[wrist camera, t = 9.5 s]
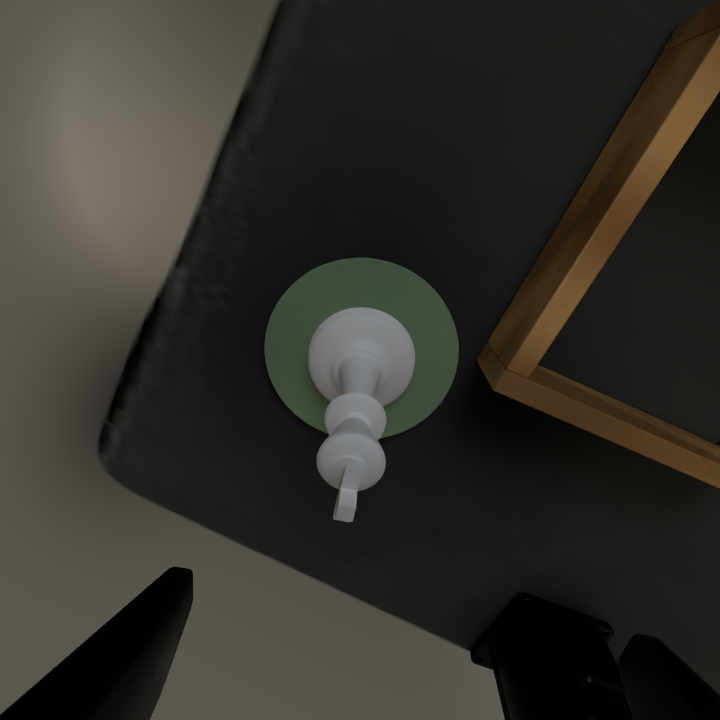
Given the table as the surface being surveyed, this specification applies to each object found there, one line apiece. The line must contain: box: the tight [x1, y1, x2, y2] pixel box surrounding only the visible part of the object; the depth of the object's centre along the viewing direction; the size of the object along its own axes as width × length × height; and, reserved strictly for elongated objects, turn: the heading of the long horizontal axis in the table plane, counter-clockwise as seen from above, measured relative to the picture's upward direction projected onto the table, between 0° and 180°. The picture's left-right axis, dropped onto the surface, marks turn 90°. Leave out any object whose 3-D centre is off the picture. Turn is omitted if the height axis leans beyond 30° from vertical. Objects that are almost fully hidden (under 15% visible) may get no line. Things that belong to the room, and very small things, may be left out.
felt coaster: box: [264, 258, 459, 438], centre depth 20 cm, size 9×9×1 cm
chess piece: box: [308, 307, 415, 522], centre depth 15 cm, size 5×5×10 cm
